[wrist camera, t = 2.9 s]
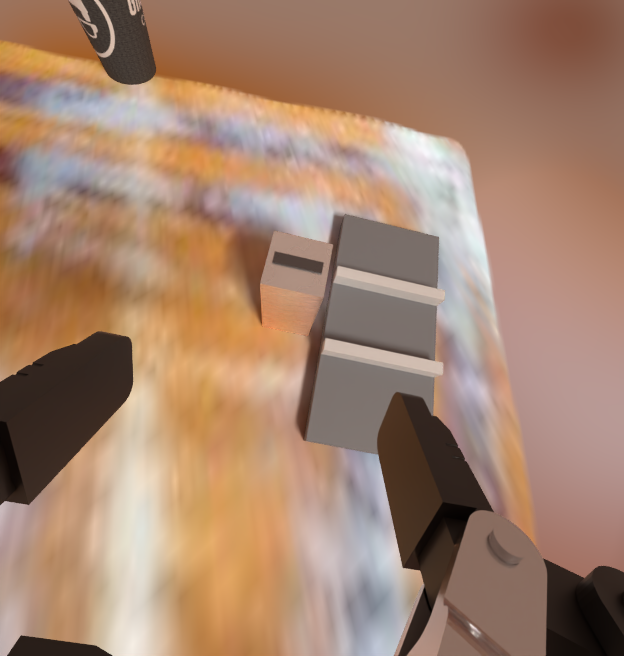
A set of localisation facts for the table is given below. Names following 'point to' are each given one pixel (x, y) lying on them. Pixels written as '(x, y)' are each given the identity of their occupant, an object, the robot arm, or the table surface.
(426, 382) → the plate
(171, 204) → the table surface
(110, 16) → the coffee cup
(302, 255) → the block
